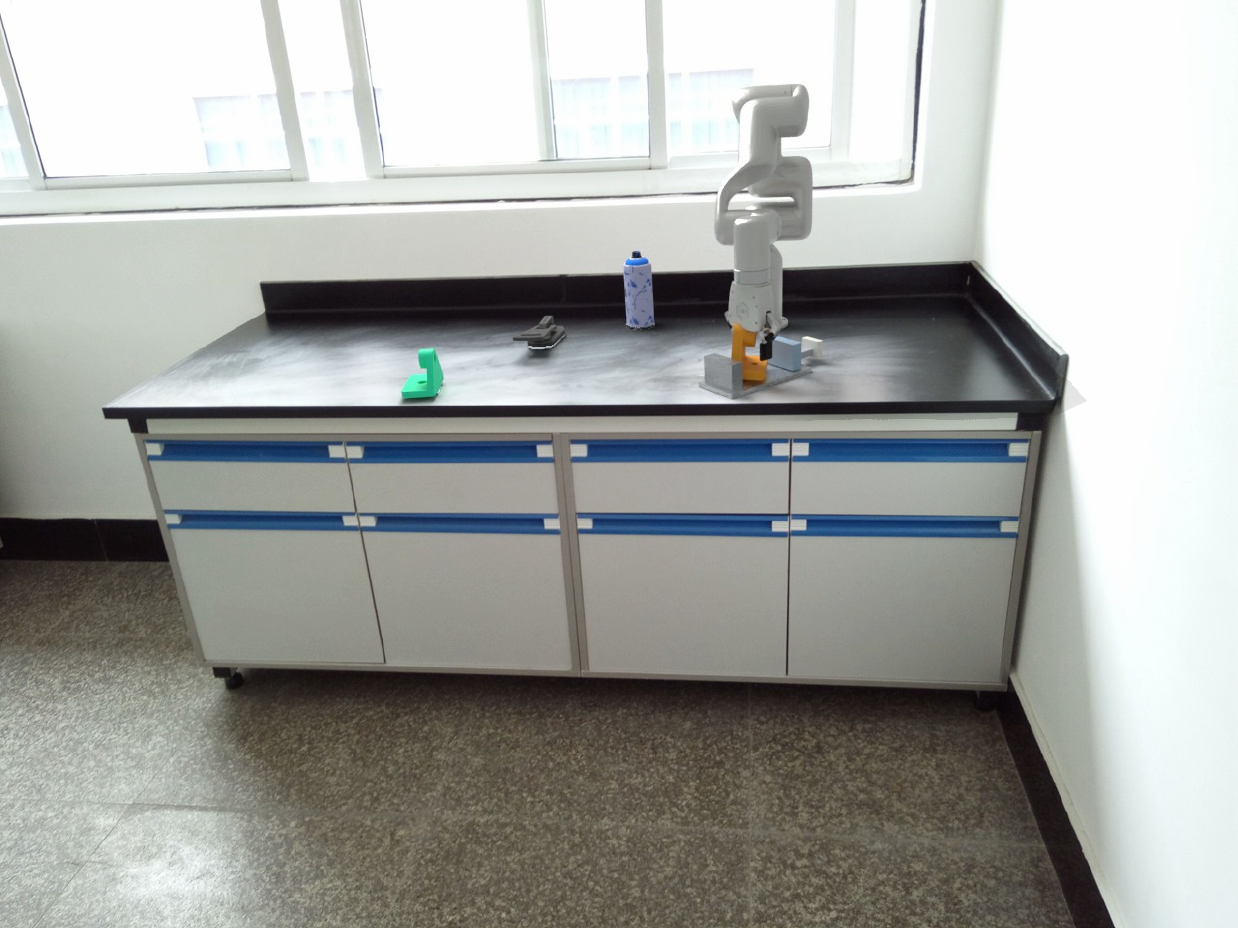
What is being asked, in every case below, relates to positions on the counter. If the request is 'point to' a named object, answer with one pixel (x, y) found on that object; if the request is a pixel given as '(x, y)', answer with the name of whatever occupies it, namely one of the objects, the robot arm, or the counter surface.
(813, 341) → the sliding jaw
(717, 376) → the vise
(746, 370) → the bracket
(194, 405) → the counter surface
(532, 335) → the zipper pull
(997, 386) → the counter surface
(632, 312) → the aerosol can
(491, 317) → the counter surface
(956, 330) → the counter surface
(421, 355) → the camera mount
